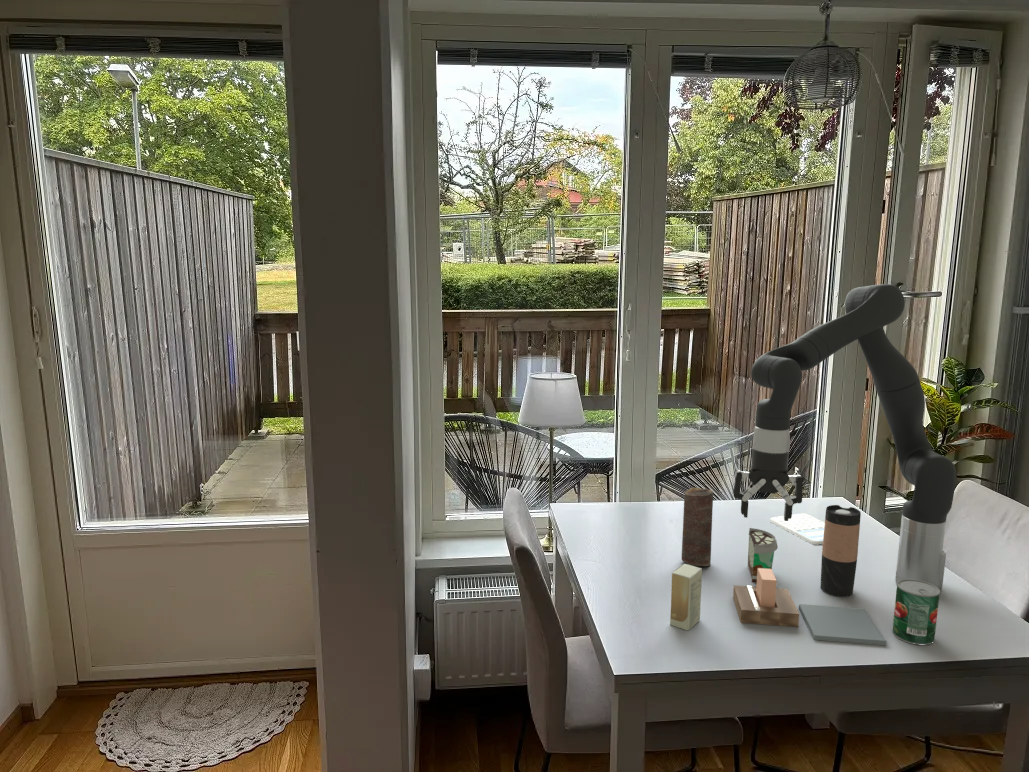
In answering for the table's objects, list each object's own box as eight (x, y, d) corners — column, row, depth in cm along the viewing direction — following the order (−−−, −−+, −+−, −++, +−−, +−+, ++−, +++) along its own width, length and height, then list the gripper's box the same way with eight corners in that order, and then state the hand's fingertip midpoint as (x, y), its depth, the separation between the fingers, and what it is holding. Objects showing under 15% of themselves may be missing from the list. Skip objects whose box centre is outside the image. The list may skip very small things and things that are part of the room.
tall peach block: (768, 606, 165) (771, 568, 164) (773, 618, 159) (776, 580, 158) (755, 605, 166) (757, 568, 164) (759, 617, 160) (762, 579, 158)
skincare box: (682, 614, 161) (684, 562, 159) (700, 620, 159) (703, 567, 156) (668, 625, 156) (671, 572, 154) (687, 631, 154) (689, 577, 152)
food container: (779, 586, 175) (781, 547, 173) (752, 584, 176) (755, 545, 174) (771, 565, 187) (774, 529, 185) (746, 563, 188) (749, 527, 186)
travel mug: (833, 599, 169) (840, 517, 165) (812, 585, 176) (818, 506, 172) (861, 595, 171) (868, 514, 167) (839, 581, 178) (845, 503, 174)
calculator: (804, 517, 223) (805, 511, 223) (853, 541, 204) (853, 535, 204) (768, 522, 219) (768, 516, 219) (814, 547, 200) (814, 540, 200)
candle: (698, 572, 183) (701, 496, 179) (674, 563, 188) (678, 489, 185) (716, 564, 187) (720, 490, 184) (692, 555, 193) (696, 483, 190)
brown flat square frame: (786, 601, 167) (787, 587, 167) (798, 627, 156) (799, 612, 155) (733, 597, 169) (733, 584, 169) (740, 622, 158) (741, 608, 157)
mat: (864, 612, 162) (864, 608, 162) (885, 645, 148) (886, 640, 148) (798, 608, 164) (799, 603, 164) (813, 639, 151) (814, 635, 150)
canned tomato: (884, 627, 156) (889, 579, 154) (919, 625, 156) (924, 578, 155) (906, 646, 148) (911, 596, 146) (943, 645, 149) (949, 595, 147)
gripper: (803, 445, 160) (797, 515, 163) (735, 440, 163) (731, 509, 166) (807, 454, 153) (801, 527, 156) (737, 449, 156) (732, 520, 159)
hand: (765, 518), depth 161 cm, fingers open, 8 cm apart
